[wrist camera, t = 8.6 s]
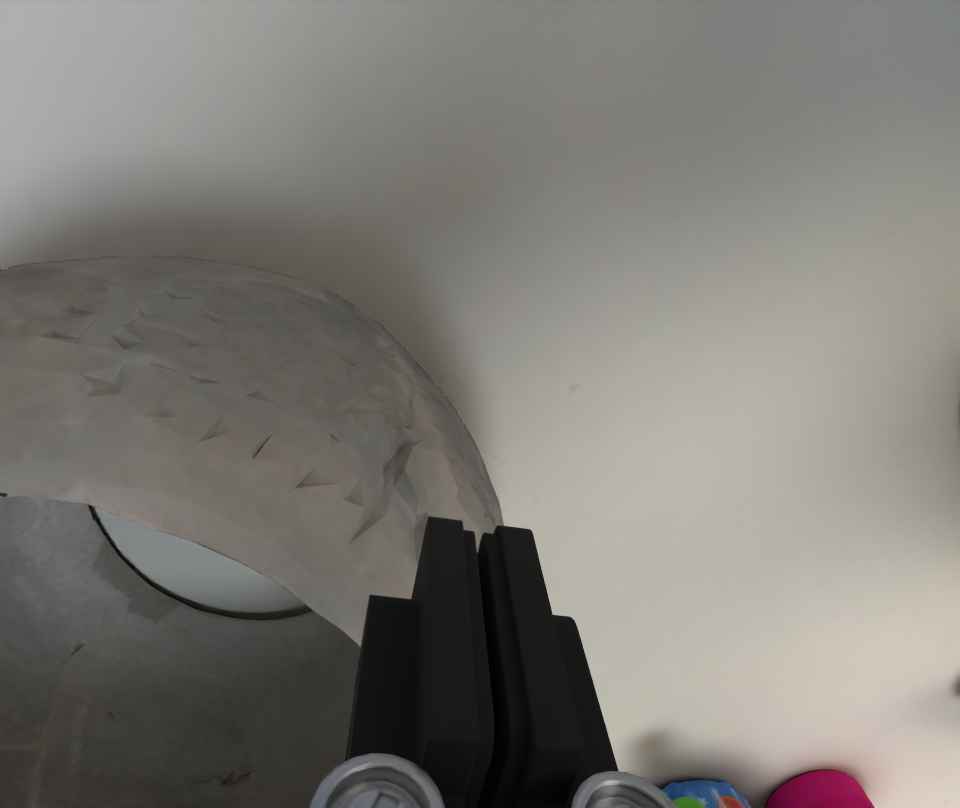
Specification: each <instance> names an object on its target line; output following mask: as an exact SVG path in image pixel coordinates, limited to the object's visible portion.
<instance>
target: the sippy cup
mask: <svg viewBox="0 0 960 808" xmlns="http://www.w3.org/2000/svg"><path fill="white" fill-rule="evenodd" d="M662 791H663V792H664V793H665V794H666V795H667V796H668V797H669V798H670V799H671V800H672V801H673V802H674V803H675V804H676V805H677V806H678V807H679V808H751V806H750V805H749V803H748V802H747V800H746V799H745V798H744V797H743V796H742V795H741V794H740V793H738V792H737V791H736V789H735V788H734V787H733V786H732V785H730V784H728V783H727V782H725V781H722V782H715V781H708V780H697V781H686V782H682V783H676V782H672V783H670V784H668V785H667V786H666V787H664V789H663V790H662Z"/></svg>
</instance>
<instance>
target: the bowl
mask: <svg viewBox="0 0 960 808" xmlns="http://www.w3.org/2000/svg"><path fill="white" fill-rule="evenodd" d="M88 505H91V506H94V507H96V508H99V509H101V510H104V511H107V512H109V513H112V514H115V515H117V516H120V517H122V518H125V519H128V520H130V521H133V522H135V523H138V524H141V525H143V526H146V527H148V528H151V529H154V530H157V531H161V532H164V533H167V534H171V535H174V536H177V537H181V538H184V539H187V540H190V541H193V542H195V543H197V544H199V545H202V546H204V547H206V548H208V549H211V550H213V551H215V552H217V553H220V554H222V555H224V556H226V557H229V558H231V559H233V560H235V561H238V562H240V563H242V564H244V565H246V566H248V567H250V568H251V569H253V570H255V571H257V572H259V573H261V574H263V575H265V576H267V577H268V578H270V579H272V580H273V581H275V582H277V583H278V584H280V585H281V586H283V587H284V588H285V589H287V590H288V591H289V592H290V593H292V594H293V595H294V596H296V597H297V598H298V599H299V600H301V601H302V602H303V603H305V604H306V605H307V606H309V607H310V608H311V609H312V610H314V611H313V612H309V613H306V614H302V615H299V616H295V617H288V618H282V619H276V620H270V621H262V620H243V619H236V618H231V617H227V616H222V615H218V614H213V613H209V612H204V611H199V610H196V609H194V608H192V607H190V606H188V605H186V604H184V603H182V602H180V601H178V600H176V599H174V598H172V597H170V596H168V595H166V594H164V593H162V592H160V591H158V590H156V589H155V588H153V587H152V586H150V585H149V584H148V583H147V582H145V581H144V580H143V579H142V578H141V577H140V576H139V575H137V574H136V573H135V572H134V571H133V570H132V569H131V568H130V567H129V566H128V565H127V564H126V563H125V562H124V561H123V560H122V559H121V558H120V557H119V556H118V554H117V553H116V551H115V550H114V549H113V547H112V546H111V544H110V543H109V541H108V540H107V538H106V537H105V536H104V534H103V532H102V531H101V529H100V527H99V526H98V524H97V522H96V521H95V519H94V518H93V516H92V514H91V512H90V509H89V507H88ZM429 516H432V517H439V518H447V519H454V520H462V521H463V527H464V530H469V531H474V532H475V539H476V549H477V552H478V548H479V544H480V540H481V537H482V534H483V533H492V534H493V533H494V530H495V528H496V526H498V525H500V526H504V524H503V519H502V514H501V509H500V504H499V501H498V498H497V496H496V493H495V491H494V488H493V486H492V483H491V481H490V478H489V475H488V472H487V470H486V467H485V464H484V462H483V459H482V457H481V455H480V452H479V450H478V448H477V445H476V443H475V441H474V440H473V438H472V436H471V435H470V433H469V431H468V430H467V428H466V426H465V424H464V423H463V421H462V419H461V418H460V416H459V414H458V413H457V411H456V409H455V408H454V406H453V405H452V404H451V403H450V401H449V400H448V399H447V398H446V396H445V395H444V394H443V393H442V392H441V390H440V389H439V388H438V387H437V385H436V384H435V383H434V382H433V381H432V380H431V379H430V378H429V376H428V375H427V374H426V373H425V371H424V370H423V369H422V368H421V367H420V365H419V364H418V363H417V362H416V361H415V359H414V358H413V357H412V356H411V354H410V353H409V352H408V351H407V350H406V349H405V348H404V347H403V346H402V345H401V344H400V343H399V342H398V341H397V340H396V339H395V338H394V337H393V336H392V335H391V334H390V333H389V332H388V331H387V330H386V329H385V328H384V327H383V326H381V325H380V324H379V323H377V322H376V321H375V320H373V319H372V318H370V317H369V316H368V315H366V314H365V313H364V312H362V311H361V310H359V309H358V308H357V307H355V306H354V305H353V304H351V303H350V302H349V301H347V300H346V299H344V298H342V297H340V296H338V295H336V294H334V293H332V292H330V291H328V290H326V289H324V288H322V287H320V286H318V285H316V284H314V283H310V282H307V281H303V280H299V279H296V278H292V277H289V276H285V275H281V274H278V273H274V272H270V271H267V270H263V269H260V268H256V267H251V266H244V265H237V264H230V263H224V262H217V261H210V260H203V259H196V258H190V257H124V256H112V257H101V258H90V259H79V260H67V261H56V262H45V263H34V264H23V265H16V266H13V267H10V268H7V269H4V270H1V271H0V808H309V807H310V804H311V801H312V799H313V797H314V795H315V793H316V791H317V789H318V788H319V786H320V784H321V782H322V781H323V780H324V779H325V778H326V777H327V776H328V775H329V774H330V773H331V772H332V771H333V770H334V769H335V768H336V767H337V766H339V765H341V764H342V763H344V762H345V756H346V748H347V741H348V734H349V726H350V719H351V711H352V704H353V696H354V689H355V682H356V675H357V668H358V661H359V655H360V648H361V642H362V636H363V629H364V624H365V618H366V612H367V606H368V600H369V595H378V596H387V597H396V598H405V599H411V597H412V592H413V587H414V582H415V577H416V572H417V567H418V562H419V557H420V553H421V548H422V543H423V538H424V533H425V528H426V523H427V520H428V517H429Z"/></svg>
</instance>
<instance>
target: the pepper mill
mask: <svg viewBox="0 0 960 808" xmlns="http://www.w3.org/2000/svg"><path fill="white" fill-rule="evenodd" d="M766 808H874V806H873V805H872V803H871V801H870V800H869V798H868V797H867V795H866V794H865V792H864V791H863V789H862V787H861V786H860V784H859V783H858V782H857V781H856V780H855V779H854V778H853V777H851V776H850V775H848V774H846V773H844V772H839V771H834V770H820V771H814V772H810V773H806V774H803V775H800V776H798V777H795V778H793V779H791V780H790V781H788V782H786V783H785V784H783V785H782V786H781V787H780V788H779V789H777V790H776V791H775V792H774V793H773V795H772V796H771V797H770V799H769V801H768V802H767V806H766Z"/></svg>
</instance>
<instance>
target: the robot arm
mask: <svg viewBox="0 0 960 808" xmlns="http://www.w3.org/2000/svg"><path fill="white" fill-rule="evenodd" d="M309 808H679V807H678V806H677V805H676V804H675V803H674V802H673V801H672V800H671V799H670V798H669V797H668V796H667V795H666V794H665V793H664V792H663V791H662V790H661V789H659V788H657V787H656V786H654V785H653V784H651V783H650V782H648V781H647V780H645V779H643V778H641V777H638V776H635V775H632V774H630V773H627V772H619V771H618V768H617V764H616V761H615V757H614V754H613V750H612V747H611V743H610V740H609V737H608V733H607V730H606V726H605V723H604V719H603V716H602V712H601V709H600V705H599V702H598V698H597V695H596V691H595V688H594V684H593V681H592V677H591V674H590V670H589V667H588V663H587V660H586V656H585V653H584V649H583V646H582V642H581V639H580V635H579V632H578V628H577V626H576V623H575V621H574V620H573V619H572V618H571V617H567V616H558V615H552V611H551V606H550V602H549V598H548V594H547V590H546V586H545V582H544V578H543V574H542V570H541V565H540V561H539V557H538V553H537V549H536V545H535V541H534V537H533V533H532V531H531V530H530V529H523V528H516V527H508V526H500V525H498V526H496V528H495V530H494V533H493V534H492V533H483V534H482V537H481V540H480V544H479V548H478V552H477V549H476V539H475V532H474V531H469V530H464V527H463V521H462V520H454V519H447V518H439V517H432V516H429V517H428V520H427V523H426V528H425V533H424V538H423V543H422V548H421V553H420V557H419V562H418V567H417V572H416V577H415V582H414V587H413V592H412V597H411V599H405V598H396V597H387V596H378V595H369V600H368V606H367V612H366V618H365V624H364V629H363V636H362V642H361V648H360V655H359V661H358V668H357V675H356V682H355V689H354V696H353V704H352V711H351V719H350V726H349V734H348V741H347V748H346V756H345V762H344V763H342V764H341V765H339V766H337V767H336V768H335V769H334V770H333V771H332V772H331V773H330V774H329V775H328V776H327V777H326V778H325V779H324V780H323V781H322V782H321V784H320V786H319V788H318V789H317V791H316V793H315V795H314V797H313V799H312V801H311V804H310V807H309Z"/></svg>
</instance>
